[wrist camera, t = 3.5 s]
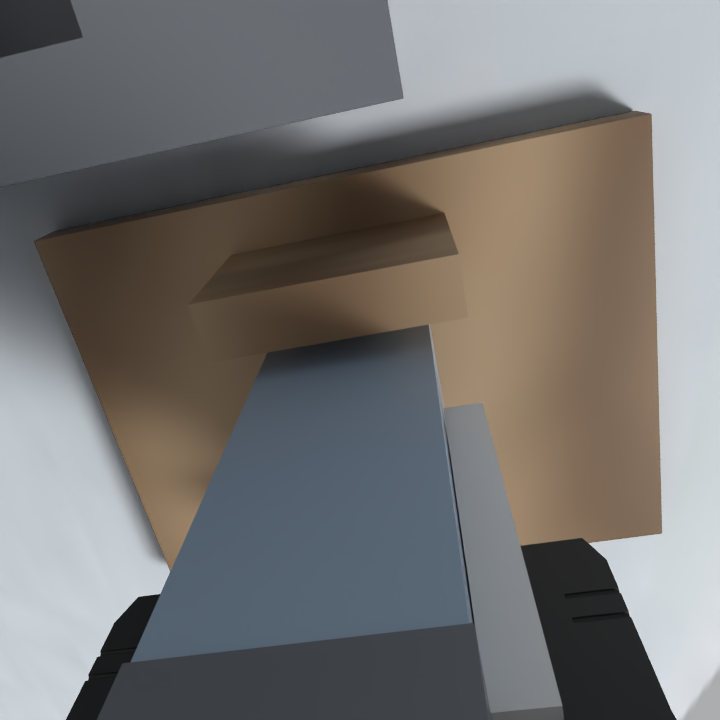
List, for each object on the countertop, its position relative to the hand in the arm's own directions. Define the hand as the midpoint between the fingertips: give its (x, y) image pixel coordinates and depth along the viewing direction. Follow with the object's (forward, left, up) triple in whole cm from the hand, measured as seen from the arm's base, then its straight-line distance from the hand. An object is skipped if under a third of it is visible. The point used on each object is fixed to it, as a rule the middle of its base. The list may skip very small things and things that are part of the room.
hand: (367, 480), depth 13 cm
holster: (0, 0, -5) cm, 5 cm away
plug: (0, 0, -4) cm, 4 cm away
